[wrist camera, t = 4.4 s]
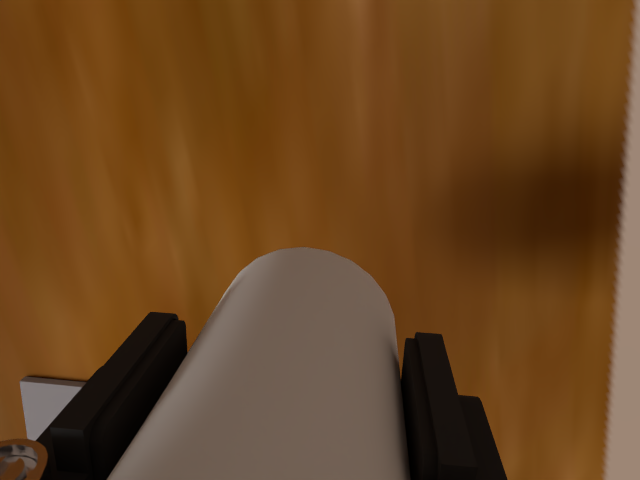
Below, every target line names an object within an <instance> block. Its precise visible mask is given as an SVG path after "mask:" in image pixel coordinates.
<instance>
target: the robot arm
mask: <svg viewBox="0 0 640 480" xmlns="http://www.w3.org/2000/svg"><path fill="white" fill-rule="evenodd" d="M186 355H187V339H186V324H185V322H184V321H181V320H178V317H177V315H176V314H172V313H159V312H150V313H149V314H148V315H147V316H146V317H145V318H144V320H143V321H142V322H141V323H140V324H139V325H138V326H137V328H136V329H135V330H134V331H133V332H132V333H131V335H130V336H129V337H128V338H127V339H126V340H125V341H124V343H123V344H122V345H121V346H120V347H119V348H118V350H117V351H116V352H115V353H114V354H113V355H112V356H111V358H110V359H109V360H108V361H107V362H106V363H105V364H104V366H102V367H100V368H99V369H98V370H97V371H96V372H95V373H94V374H93V376H92V377H91V378H90V379H89V380H88V381H87V382H86V384H85V385H84V386H83V387H82V388H81V389H80V390H79V392H78V393H77V394H76V395H75V396H74V397H73V398H72V400H71V401H70V402H69V403H68V404H67V405H66V406H65V408H64V409H63V410H62V411H61V412H60V413H59V414H58V416H57V417H56V418H55V419H54V420H53V421H52V422H51V423H50V425H49V426H48V427H47V428H46V429H45V430H44V431H43V433H42V434H41V435H40V436H39V437H38V438H37V439H36V441H34V440H30V439H11V440H6V441H0V480H107V478H108V477H109V475H110V474H111V472H112V471H113V469H114V467H115V466H116V464H117V463H118V461H119V460H120V458H121V457H122V455H123V454H124V452H125V451H126V449H127V448H128V446H129V445H130V443H131V442H132V440H133V439H134V437H135V436H136V434H137V432H138V431H139V429H140V428H141V426H142V425H143V423H144V422H145V420H146V418H147V417H148V415H149V414H150V412H151V411H152V409H153V407H154V406H155V404H156V403H157V401H158V400H159V398H160V396H161V395H162V393H163V392H164V390H165V389H166V387H167V385H168V384H169V382H170V381H171V379H172V377H173V376H174V374H175V373H176V371H177V369H178V368H179V366H180V365H181V363H182V361H183V360H184V358H185V357H186ZM401 388H402V398H403V408H404V418H405V427H406V437H407V447H408V456H409V466H410V476H411V480H507V477H506V474H505V471H504V468H503V465H502V462H501V459H500V456H499V453H498V450H497V447H496V444H495V441H494V438H493V435H492V432H491V429H490V426H489V423H488V420H487V417H486V414H485V411H484V408H483V405H482V402H481V400H480V398H478V397H475V396H463V395H458V393H457V389H456V385H455V382H454V378H453V374H452V371H451V367H450V363H449V360H448V356H447V352H446V349H445V345H444V341H443V337H442V335H441V334H432V333H420V332H416V334H415V338H414V339H413V338H406V341H405V348H404V358H403V367H402V377H401Z"/></svg>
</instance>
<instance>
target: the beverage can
mask: <svg viewBox="0 0 640 480" xmlns="http://www.w3.org/2000/svg"><path fill="white" fill-rule="evenodd" d="M107 480H411V476H410V466H409V456H408V447H407V437H406V427H405V418H404V408H403V398H402V388H401V379H400V369H399V359H398V350H397V340H396V330H395V321H394V314H393V312H392V309H391V307H390V304H389V302H388V299H387V297H386V294H385V293H384V292H383V291H382V289H381V288H380V287H379V285H378V284H377V283H376V282H375V280H374V279H373V278H372V276H371V275H369V274H368V273H367V272H365V271H364V270H363V269H362V268H360V267H359V266H358V265H356V264H355V263H354V262H352V261H351V260H349V259H346V258H344V257H342V256H339V255H337V254H334V253H332V252H330V251H325V250H319V249H313V248H307V247H300V248H289V249H279V250H277V251H274V252H272V253H269V254H266V255H264V256H261V257H259V258H257V259H255V260H254V261H253V262H252V263H250V264H249V265H248V266H247V267H246V268H244V269H243V270H242V271H241V272H240V273H239V274H238V275H237V277H236V278H235V279H234V281H233V282H232V284H231V285H230V286H229V288H228V289H227V290H226V292H225V294H224V295H223V297H222V298H221V300H220V302H219V303H218V305H217V307H216V308H215V310H214V311H213V313H212V315H211V316H210V318H209V319H208V321H207V323H206V324H205V326H204V328H203V329H202V331H201V332H200V334H199V336H198V337H197V339H196V340H195V342H194V344H193V345H192V347H191V348H190V350H189V352H188V353H187V355H186V357H185V358H184V360H183V361H182V363H181V365H180V366H179V368H178V369H177V371H176V373H175V374H174V376H173V377H172V379H171V381H170V382H169V384H168V385H167V387H166V389H165V390H164V392H163V393H162V395H161V396H160V398H159V400H158V401H157V403H156V404H155V406H154V407H153V409H152V411H151V412H150V414H149V415H148V417H147V418H146V420H145V422H144V423H143V425H142V426H141V428H140V429H139V431H138V432H137V434H136V436H135V437H134V439H133V440H132V442H131V443H130V445H129V446H128V448H127V449H126V451H125V452H124V454H123V455H122V457H121V458H120V460H119V461H118V463H117V464H116V466H115V467H114V469H113V471H112V472H111V474H110V475H109V477H108V478H107Z"/></svg>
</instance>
